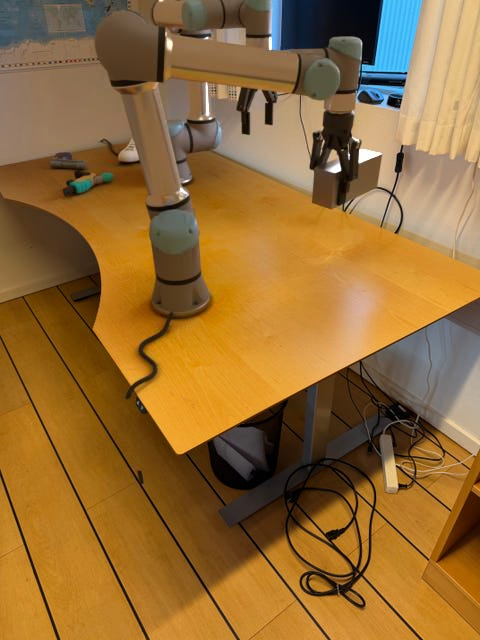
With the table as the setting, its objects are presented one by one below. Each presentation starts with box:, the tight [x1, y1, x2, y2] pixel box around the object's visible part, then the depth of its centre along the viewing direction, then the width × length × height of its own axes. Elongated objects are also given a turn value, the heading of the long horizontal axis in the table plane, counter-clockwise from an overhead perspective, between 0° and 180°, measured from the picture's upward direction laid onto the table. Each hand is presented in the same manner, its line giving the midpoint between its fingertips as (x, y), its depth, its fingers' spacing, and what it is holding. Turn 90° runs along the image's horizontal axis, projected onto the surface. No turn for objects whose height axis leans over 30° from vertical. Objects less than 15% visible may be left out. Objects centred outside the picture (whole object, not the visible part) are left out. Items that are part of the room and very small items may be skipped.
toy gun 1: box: [48, 151, 87, 170], centre depth 217 cm, size 4×19×15 cm
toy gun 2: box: [62, 169, 114, 197], centre depth 193 cm, size 4×26×15 cm
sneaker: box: [117, 136, 139, 163], centre depth 223 cm, size 10×29×12 cm, turn 163°
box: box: [311, 148, 383, 210], centre depth 131 cm, size 22×7×10 cm, turn 134°
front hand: (330, 200), depth 130 cm, fingers closed on box, 7 cm apart
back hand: (257, 129), depth 152 cm, fingers open, 13 cm apart
